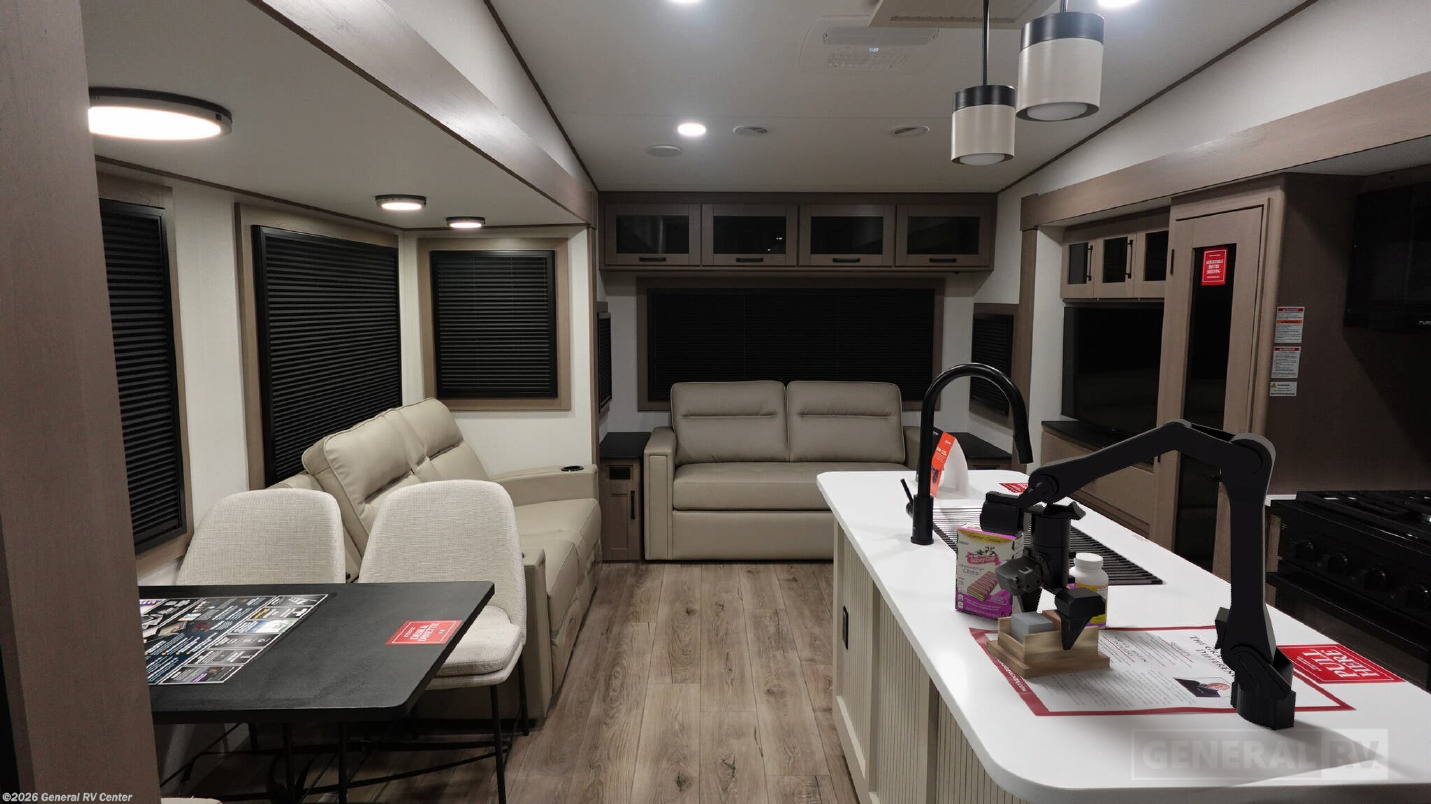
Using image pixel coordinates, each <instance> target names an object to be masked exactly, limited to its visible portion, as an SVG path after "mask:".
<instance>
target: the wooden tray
mask: <svg viewBox="0 0 1431 804" xmlns="http://www.w3.org/2000/svg"><path fill="white" fill-rule="evenodd" d="M1038 613H1039V614H1041V615H1042V612H1038ZM1099 632H1100V630H1099V627H1098V626H1089V627H1085V628H1084V629H1083V631H1082V632H1081V634H1080V635H1079V637H1078V639H1077V640H1076V642H1075V643H1074V645H1073V646H1072V648H1071V649H1070V650H1066V651H1065V650H1063V646H1062V636H1061V630H1057V631H1049V632H1041V633H1033V634H1025V635H1023V645H1022V644H1021V643H1019V642H1018V641H1016V640H1015V639H1014V638H1012V637H1011V617H1002V618H998V621H997V640H998V645H999V646H1000V647H1002V648H1003V649H1004V650H1006V651H1007V652H1008V653H1010V654H1011V655H1012V656H1014V657H1015V658H1017V659H1018V660H1019V661H1021V662H1022V663H1023V664H1029V663H1037V662H1044V661H1051V660H1059V659H1066V658H1074V657H1081V656H1089V655H1096V654H1098V651H1099V635H1100V634H1099Z"/></svg>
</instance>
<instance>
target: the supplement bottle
mask: <svg viewBox="0 0 1431 804" xmlns="http://www.w3.org/2000/svg"><path fill="white" fill-rule="evenodd" d="M1073 562H1074V566H1072V567H1071V568H1070V567H1069V574H1070V575H1072V576H1074V577H1075V583H1074V584H1068V586H1067V588H1069V589H1074V588H1082V587H1086V588H1088V589H1090V590H1092V591H1094V592H1096V593H1098V594H1100V595H1101V596H1102V597H1103V598H1104V599H1105V600H1106V613H1105V614H1103V615H1099V616H1098V617H1093V618H1092V619H1091V620H1090V622H1089V623H1088V624H1087V625H1086V627H1089V626H1098V627H1099V631H1100V630H1105V628H1106V626H1107V621H1108V619H1107V617H1108V599H1109V597H1108V595H1109V575H1108V574H1107V572H1105V571H1104V570H1103V569H1102V568H1103V566H1104V558H1103V556H1102V555H1101V556H1100V555H1099V554H1095V553H1090V552H1076V558H1073Z"/></svg>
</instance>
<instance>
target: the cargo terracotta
mask: <svg viewBox="0 0 1431 804" xmlns="http://www.w3.org/2000/svg"><path fill="white" fill-rule="evenodd" d="M1056 609H1057V608H1052V609H1043V610H1042V611H1041V613H1042V616H1044V617H1046V618H1047V619H1049V620H1051V621H1052V622H1054V624H1053V631H1057V630H1061V619H1060V617H1059V616H1058V615H1057V614H1056V613H1055V612H1054V611H1053V610H1056Z"/></svg>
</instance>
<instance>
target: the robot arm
mask: <svg viewBox="0 0 1431 804" xmlns="http://www.w3.org/2000/svg"><path fill="white" fill-rule="evenodd" d="M1172 451H1176V452H1179V453H1182V454H1185V455H1187V456H1189V457H1191V458H1194V459H1196V460H1198V461H1200V462H1203V463H1205V464H1208V465H1211V466H1213V467H1215V468H1219V471H1220V475H1221V479H1222V483H1223V487H1224V490H1225V493H1226V496H1227V499H1228V503H1229V510H1230V511H1229V512H1230V513H1229V516H1230V517H1229V524H1230V525H1229V527H1230V529H1229V530H1230V531H1229V533H1230V534H1229V537H1230V541H1229V542H1230V545H1229V546H1230V548H1229V549H1230V606H1229V608H1226V607H1222V606H1219V608H1218V611H1217V613H1216V616H1215V619H1214V627H1215V631H1216V637H1217V639H1216V641H1215V645H1214V647H1213V649H1214V650H1216V651H1218V650H1220V651H1219V654H1220V659H1221V660H1222V663H1223V664H1224V665H1225V666H1226V667H1228V668H1229V670H1230V671H1232V672H1234V675H1233V676H1234V677H1233V681H1232V682H1231V687H1230V690H1231V691H1230V701H1229V702H1230V706H1232V708H1234V709H1235V710H1236V713H1237V714H1238V715H1239V716H1240V717H1241V718H1243V719H1244V720H1246V721H1248V722H1249V723H1252V724H1254V725H1258V726H1260V727H1261V726H1262V727H1264V728H1268V729H1270V730H1272V731H1281V730H1286V729H1292V728H1294V726H1295V717H1296V716H1295V715H1296V701H1297V692H1296V691H1295V690H1292V687H1293V686H1292V685H1293V678H1294V668H1295V664H1294V662H1293V660H1291V658H1289V657H1288V656H1287V655H1286V654H1285V653H1284V652H1283V650H1281V649H1280V648H1279V646H1277V641H1276V636H1275V632H1274V627H1273V623H1272V619H1271V616H1270V613H1269V609H1268V606H1267V603H1266V533H1265V532H1266V531H1265V530H1266V520H1265V519H1266V518H1265V517H1266V515H1265V514H1266V510H1265V508H1266V505H1265V504H1266V498H1267V496H1268V490H1269V486H1270V482H1271V478H1272V474H1273V468H1274V465H1275V460H1276V454H1277V453H1276V449H1275V446H1274V444H1273V443H1272V442H1271V441H1270V440H1269V439H1267V438H1266V437H1265V436H1263V435H1261V434H1259V433H1256V432H1255V433H1254V432H1244V433H1243V432H1241V433H1239V434H1238V433H1237V434H1236V433H1234V432H1233V433H1232V432H1229V431H1226V430H1224V429H1223V430H1221V429H1218V428H1214V427H1210V426H1205V425H1201V424H1196V423H1193V422H1191V421H1188V420H1186V419H1183V418H1173V419H1170V420H1168V421H1166V422H1165V423H1163V424H1161V425H1160V426H1157V427H1155V428H1151V429H1150V430H1147V431H1145V432H1142V433H1140V434H1137V435H1134V436H1132V437H1130V438H1126V439H1124V440H1122V441H1119V442H1117V443H1114V444H1111V445H1109V446H1107V447H1104V448H1102V449H1098V450H1096V451H1093V452H1091V453H1088V454H1083V455H1077V456H1072V457H1070V456H1069V457H1066V458H1061V459H1056V460H1052V461H1049V462H1047V463H1045V464H1043V465H1041V466H1039V467H1037V468H1036V469H1034V470H1032V471H1031V473H1029V476H1028V479H1027V487H1026V488H1025V489H1024V491H1022V492H1021V493H1020V494H1019V495H1018V494H1017V495H1016V494H1010V493H1009V494H1007V493H1002V492H999V491H996V490H995V491H994V490H990V491H987V492H986V493H985V495H984V496H985V499H984V502H983V503H982V507H981V511H980V512H981V513H979V519H978V520H979V525H980V527H981V530H982V531H983V532H989V533H995V534H1001V535H1007V536H1012V537H1020V536H1021V535H1022V533H1023V534H1024V533H1028V532H1029V529H1030V541H1029V542H1030V543H1029V544H1028V545H1025V544H1024V548H1023V553H1022V557H1020V558H1017V559H1008V560H1003V561H1002V563H1001V564H1000V565H999V567H997V568H995V573H996V577H997V580H998V583H999V586H1000V588H1001V589H1004V590H1006V591H1007V592H1009V593H1010V594H1011V595H1013V596H1017V599H1018V602H1019V605H1020V608H1021V613H1026V612H1034V611H1036V612H1038V608H1039V604H1040V600H1041V596H1042V592H1043V590H1044V591H1047V592H1048V593H1049V594H1052V595H1053V596H1054V599H1053V600H1054V601H1053V602H1054V606H1055V609H1056V610H1053V611H1054V612H1055V613H1056V614H1057V615H1058V616H1059V617H1060V619H1061V636H1062V646H1063V650H1065V651H1066V650H1070V649H1071V648H1072V646H1073V645H1074V643H1075V642H1076V640H1077V639H1078V637H1079V635H1080V634H1081V632H1082V631H1083V629H1084V628H1085V627H1086V625H1087V624H1088V623H1089V622H1090V620H1091V619H1092V618H1093V617H1098V616H1099V615H1103V614H1105V613H1106V600H1105V599H1104V598H1103V597H1102V596H1101V595H1100V594H1098V593H1096V592H1094V591H1092V590H1090V589H1088V588H1086V587H1082V588H1074V589H1069V588H1067V586H1068V584H1074V583H1075V577H1074V576H1072V575H1070V574H1069V569H1070V562H1071V560H1070V559H1074V558H1076V554H1077V551H1075V550H1074V549H1071V535H1072V534H1071V533H1072V531H1071V530H1072V521H1081V519H1084V518H1085V517H1086V515H1087V512H1086V511H1084V509H1082V508H1081V507H1080V506H1079V505H1078V503H1077V501H1076V500H1073V501H1071V502H1070V503H1068V505H1066V504H1058V502H1060V501H1062V500H1064V499H1065V498H1067V497H1068V496H1070V495H1072V494H1074V493H1075V492H1078V491H1079V490H1080V489H1082V488H1084V487H1085V486H1087V485H1089V484H1090V483H1092V482H1093V481H1095V480H1097V479H1100V478H1103V477H1105V476H1109V475H1110V474H1111V475H1112V474H1113V473H1117V472H1119V471H1121V470H1124V469H1127V468H1130V467H1133V466H1135V465H1138V464H1140V463H1143V462H1145V461H1148V460H1151V459H1153V458H1156V457H1159V456H1162V455H1165V454H1167V453H1170V452H1172ZM1040 503H1043V504H1045V506H1038V505H1037V504H1040ZM1036 505H1037V506H1036Z"/></svg>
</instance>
